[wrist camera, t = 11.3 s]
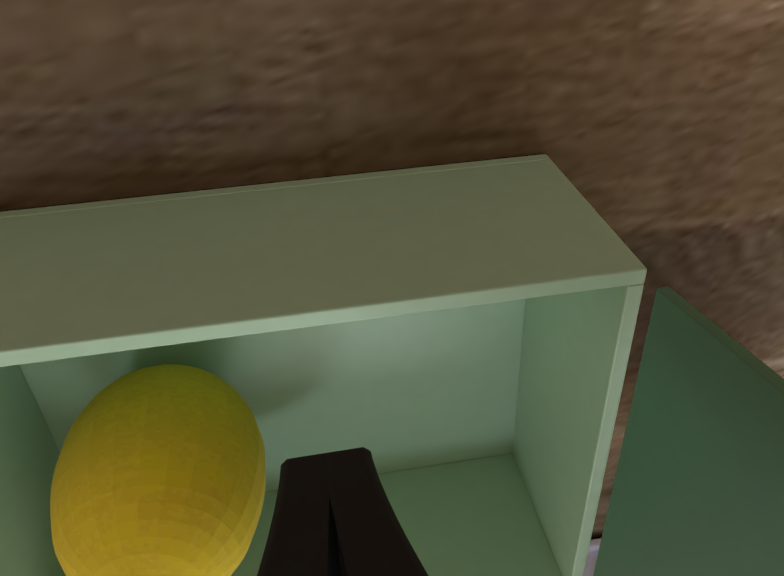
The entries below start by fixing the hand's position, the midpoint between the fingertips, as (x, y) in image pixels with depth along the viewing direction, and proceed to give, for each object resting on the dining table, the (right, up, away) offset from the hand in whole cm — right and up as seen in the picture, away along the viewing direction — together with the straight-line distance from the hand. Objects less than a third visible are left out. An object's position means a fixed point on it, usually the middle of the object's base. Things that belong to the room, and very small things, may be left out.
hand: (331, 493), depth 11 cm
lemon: (-6, 0, +11) cm, 13 cm away
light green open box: (-2, +1, +12) cm, 12 cm away
